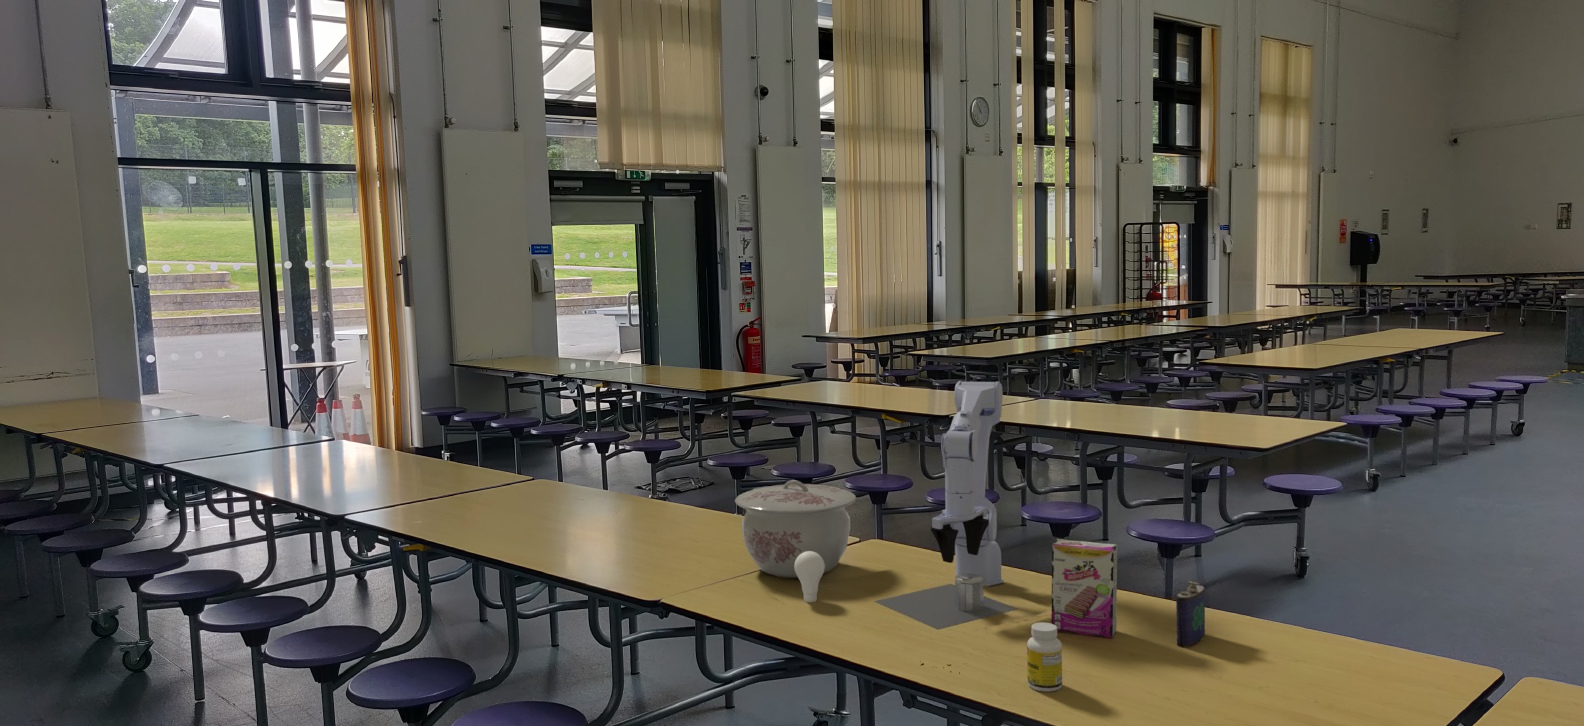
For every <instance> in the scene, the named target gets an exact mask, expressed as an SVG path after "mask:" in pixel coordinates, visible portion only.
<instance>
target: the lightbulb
mask: <svg viewBox="0 0 1584 726" xmlns="http://www.w3.org/2000/svg"><path fill="white" fill-rule="evenodd" d="M794 569H795V572H796V574H797V576H798V578H797V579H799V581H800V584H801V590H802V591H801V592H802V593H803V601H804V602H806V603H814V602H816V601H817V600H818V599H817V598H818V597H817V595H818V594H817V593H818V591H819V583H820V580H821V578H822V577H823V574H824V573H823V572H824V569H825V564H824V561H823V559H822V557H821V556H820V555H819V554H817V553H816V552H813V551H806V552H803V553H802V554H800V555H799V556H798V557H797V559H796V561H795V565H794Z"/></svg>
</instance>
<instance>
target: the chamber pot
mask: <svg viewBox="0 0 1584 726" xmlns="http://www.w3.org/2000/svg"><path fill="white" fill-rule="evenodd" d="M856 498H857V496H856V495H855V493H853V492H851V491H850V490H847V489H844V488H840V487H836V486H833V485H832V486H831V485H826V484H812V483H802V482H801V481H800V480H795V479H789V480H787V481H786V483H784V484H776V485H771V486H770V485H769V486H762V487H759V488H758V487H756V488H752V489H751V490H748V491H745V492H742V493H741V494H738V496H737V497H736V498H735V499H734V503H735V504H736V505H737V506H738V507H740V508H743V510H745V514H744V516H743V517H742V520H741V533H742V538H743V541H744V546H745V549H746V550H747V552H748V554H749V555H750V557H751V559H752V561H754V563H755V565H756V567H757V568H758V569H759V570H760V571H761V572H764V573H766V574H769V575H771V576H774V577H778V578H785V579H786V578H787V579H799V578H798V576H797V574H796V572H795V569H794V565H795V561H796V559H797V557H798V556H799V555H800V554H802V553H803V552H806V551H813V552H816V553H817V554H819V555H820V556H821V557H822V559H823V561H824V564H825V569H824V572H823V574H825V573H827V572H830V571H831V570H833V569H834V568H835V567H836V566H837V565H838V564H839V562H840V560H841V558H842V556H843V555H844V553H845V552H846V550H847V547H848V543H849V542H848V541H849V537H850V531H851V517H850V514H849V513H848V511H847V510H846V507H848V506H850V505H851V504H853V503H854V502H855V501H856Z"/></svg>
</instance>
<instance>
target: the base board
mask: <svg viewBox="0 0 1584 726" xmlns="http://www.w3.org/2000/svg"><path fill="white" fill-rule="evenodd" d="M873 603H876V604H879V605H881V606H882V607H885V608H887V609H890V610H892V611H894V612H897V613H899V614H901V615H904V616H905V617H908V618H911V619H913V620H915V621H918V622H920V623H922V624H924V625H926V626H929V627H931V628H933V629H936V630H942V629H946V628H949V627H953V626H957V625H961V624H965V623H969V622H972V621H977V620H981V619H984V618H988V617H993V616H996V615H1000V614H1004V613H1008V612H1011V611H1016V610H1018V608H1017V607H1014V606H1012V605H1008V604H1006V603H1003V602H1001V601H999V600H995V599H992V598H990V597H988V596H986V595H984V609H983V610H981V611H977V612H964V611H960V610H958V609H956V605H955V584H953V583H948V584H943V585H939V586H934V587H930V588H925V589H921V590H917V591H913V592H909V593H904V594H900V595H895V596H891V597H887V598H882V599H877V600H873Z"/></svg>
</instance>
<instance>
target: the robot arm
mask: <svg viewBox="0 0 1584 726" xmlns="http://www.w3.org/2000/svg"><path fill="white" fill-rule="evenodd" d="M1002 385H1003V384H1001V382H1000V381H999V380H998V381H963V380H958V381H957V382H956V384H955V386H954V405H955V408H956V409H955V410H956V414H954V416H953V418H952V421H951V424H950V426H949V429H948V430H947V431H946V433H942V437H941V441H940V442H941V444H940V448H941V456H942V468H943V469H944V482H945V484H944V489H945V490H944V491H945V492H944V493H945V494H944V495H945V496H944V497H945V509H942V511H941V514H939V515H938V516H934V517H932V518H931V523H932V524H931V526H930V531H931V533H932V534H933V536H934V538H935V540H936V541H937V545H938V547H939V550H940V555H941V559H942V562H945V563H950V564H952V563H954V559H955V576H956V575H959V574H965V573H972V574H978V575H981V576H983V586H984V587H985V586H986V587H992V586H996V585H1000V584H1003V583H1005V580H1004V579H1002V551H1001V548H1000V545H999V544H998V542H996V538H997V532H998V531H997V530H998V521H997V520H998V518H997V514H998V513H997V508H996V507H995V505H994V503H992V502H991V501H990V500H989V499H988V498H987V497H986V484H987V471H988V460H989V458H988V457H989V446H990V436H991V433H992V429H993V426H995V425H997V424H998V423H1000V422H1001V418H1002V413H1003V412H1002V410H1003V397H1004V396H1003V386H1002Z"/></svg>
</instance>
